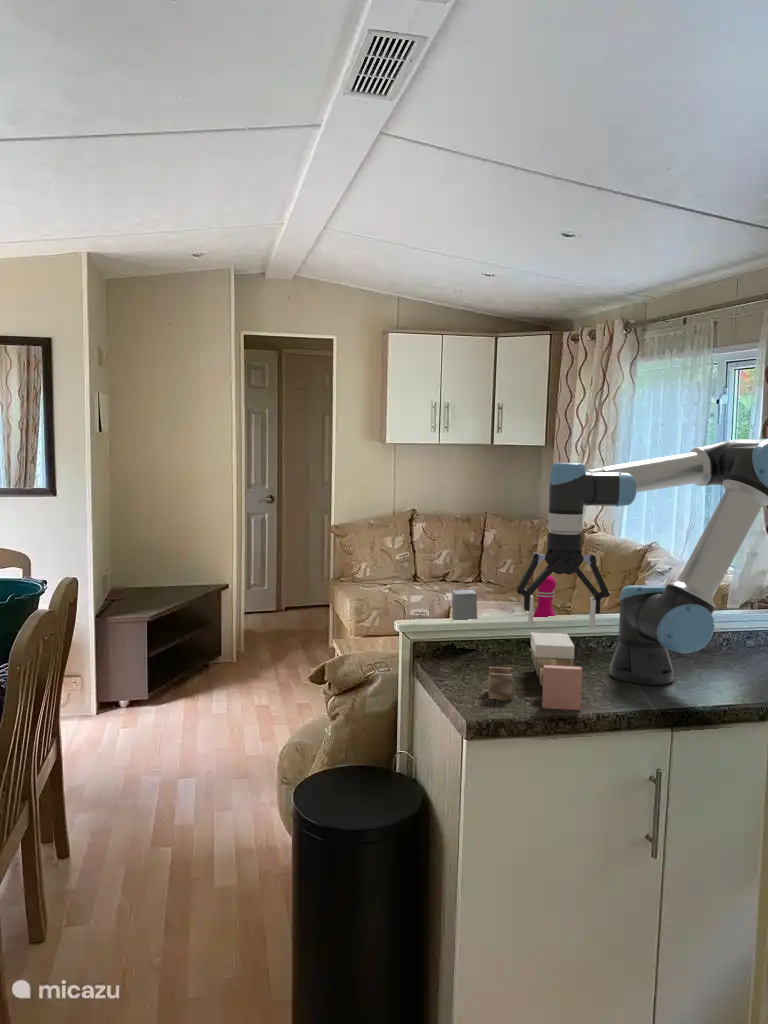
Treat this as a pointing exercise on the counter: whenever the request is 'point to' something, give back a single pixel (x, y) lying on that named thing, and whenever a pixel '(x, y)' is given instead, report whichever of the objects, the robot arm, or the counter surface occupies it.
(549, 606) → the pepper mill
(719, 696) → the counter surface
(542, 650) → the slab
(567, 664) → the roller bed
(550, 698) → the block
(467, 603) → the skincare box
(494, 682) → the pedestal
